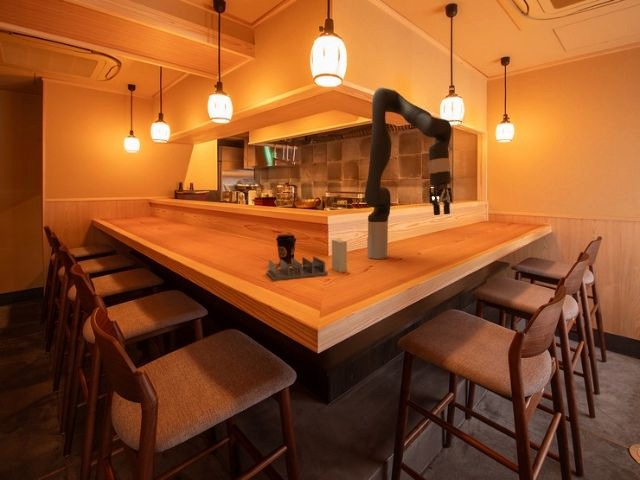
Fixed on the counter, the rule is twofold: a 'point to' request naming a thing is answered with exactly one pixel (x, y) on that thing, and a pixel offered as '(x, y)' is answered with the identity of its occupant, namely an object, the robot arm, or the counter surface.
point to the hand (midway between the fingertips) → (442, 214)
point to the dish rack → (297, 269)
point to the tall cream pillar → (339, 255)
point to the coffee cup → (286, 247)
